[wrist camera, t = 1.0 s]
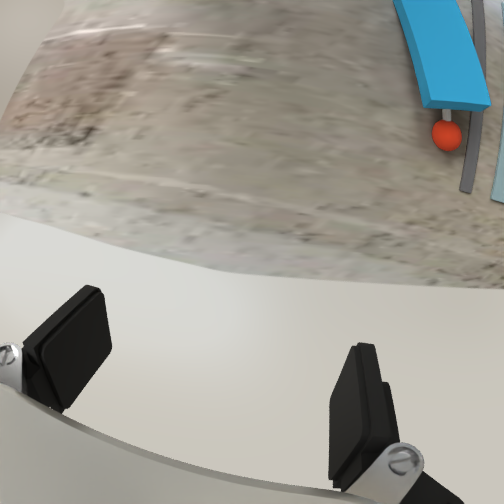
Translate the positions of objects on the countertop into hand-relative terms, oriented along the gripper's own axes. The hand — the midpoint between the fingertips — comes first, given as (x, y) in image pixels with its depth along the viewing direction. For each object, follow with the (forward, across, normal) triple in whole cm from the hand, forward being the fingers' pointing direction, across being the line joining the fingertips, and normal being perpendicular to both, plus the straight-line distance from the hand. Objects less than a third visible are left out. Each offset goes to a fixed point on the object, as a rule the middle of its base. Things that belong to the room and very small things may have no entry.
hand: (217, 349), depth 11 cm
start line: (+25, -20, -18) cm, 37 cm away
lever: (+26, -15, -18) cm, 34 cm away
